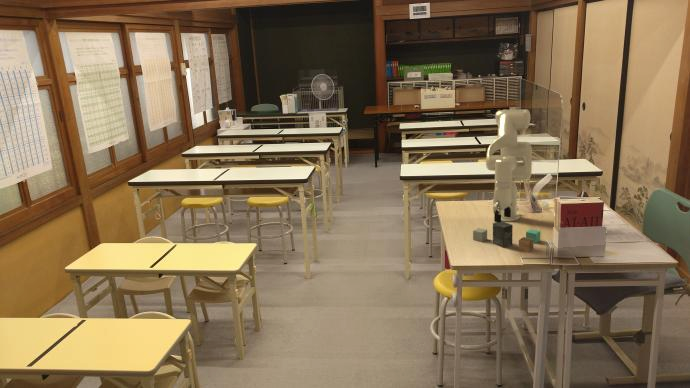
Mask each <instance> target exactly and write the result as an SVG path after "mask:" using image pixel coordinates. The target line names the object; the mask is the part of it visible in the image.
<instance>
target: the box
mask: <svg viewBox="0 0 690 388" xmlns="http://www.w3.org/2000/svg"><path fill="white" fill-rule="evenodd" d="M513 227H514V226H513V224H511V223H508V222H507V221H501V222H500V223H499V222H495V221H494V222H493V223H492V244H494V245H497V246H499V247H501V248H507V247H510V246H511V247H512V245H513Z"/></svg>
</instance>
